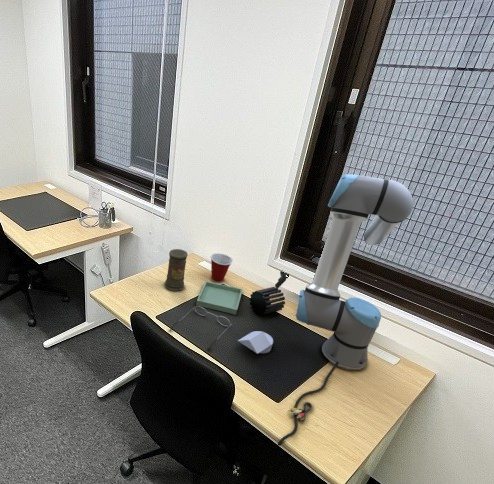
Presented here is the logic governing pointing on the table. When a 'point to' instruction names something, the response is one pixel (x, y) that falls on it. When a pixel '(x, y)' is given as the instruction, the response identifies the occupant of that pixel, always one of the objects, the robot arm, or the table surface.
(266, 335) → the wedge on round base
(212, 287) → the desk tray
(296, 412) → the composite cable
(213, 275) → the plastic cup
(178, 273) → the container
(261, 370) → the table surface
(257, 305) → the pen pot
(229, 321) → the eyeglasses
